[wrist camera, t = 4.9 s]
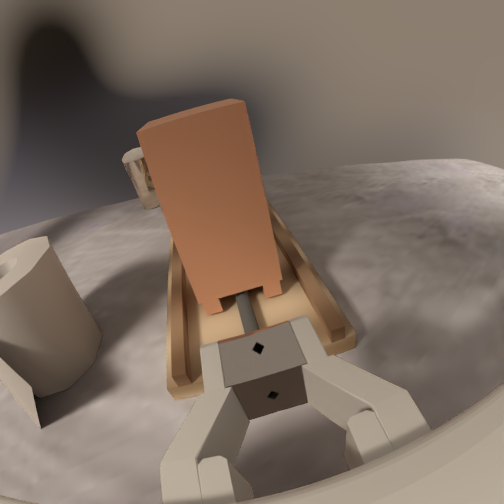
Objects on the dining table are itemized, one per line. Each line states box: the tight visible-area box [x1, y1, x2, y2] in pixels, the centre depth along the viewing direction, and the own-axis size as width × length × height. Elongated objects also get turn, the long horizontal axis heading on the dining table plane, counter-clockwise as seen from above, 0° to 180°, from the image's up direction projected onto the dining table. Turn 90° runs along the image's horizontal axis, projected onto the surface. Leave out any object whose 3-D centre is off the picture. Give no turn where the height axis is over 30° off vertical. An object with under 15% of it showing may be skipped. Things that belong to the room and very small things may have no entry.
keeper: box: [137, 99, 282, 315], centre depth 19 cm, size 5×6×12 cm
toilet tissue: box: [0, 236, 103, 429], centre depth 18 cm, size 9×13×9 cm
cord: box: [235, 290, 259, 334], centre depth 27 cm, size 24×1×1 cm, turn 11°
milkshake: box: [122, 147, 160, 210], centre depth 43 cm, size 4×5×10 cm
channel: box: [167, 198, 356, 400], centre depth 26 cm, size 27×11×8 cm, turn 11°
